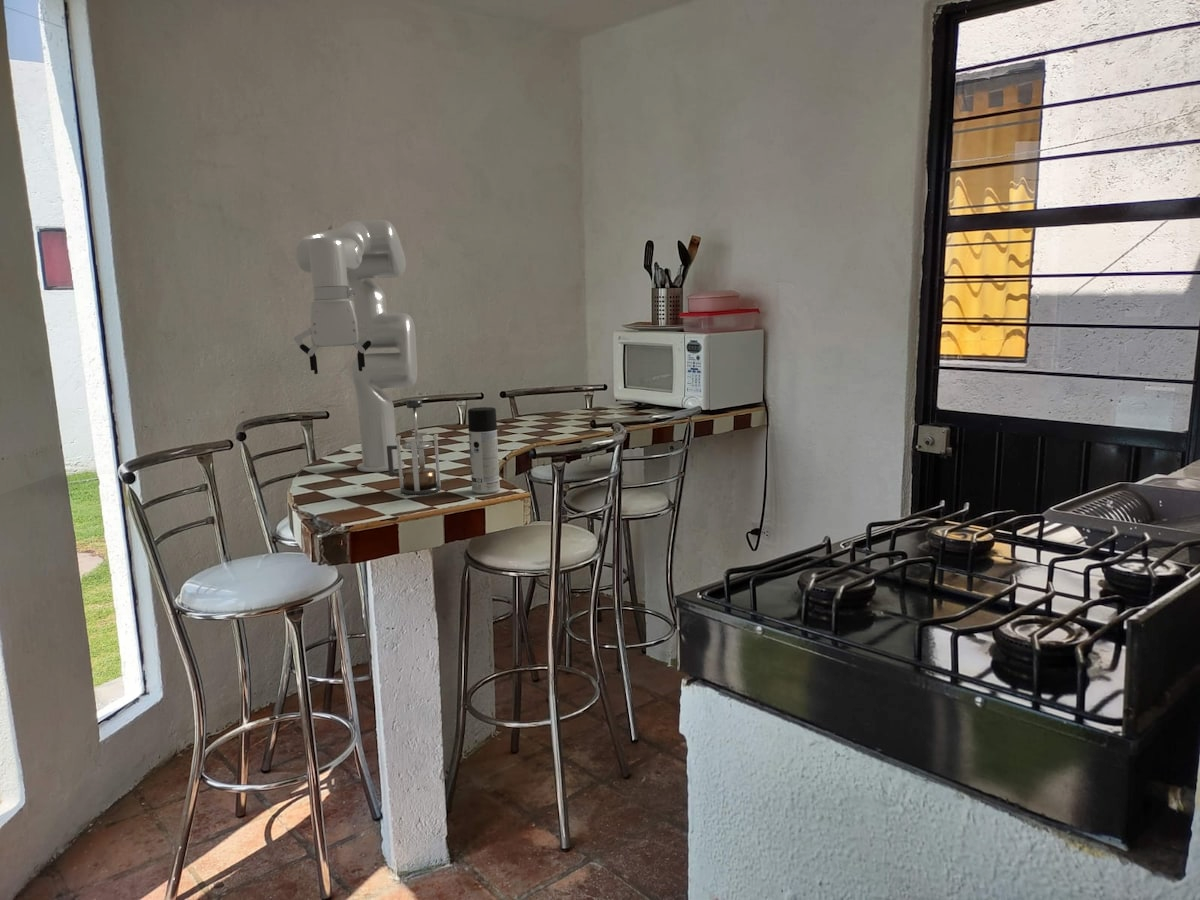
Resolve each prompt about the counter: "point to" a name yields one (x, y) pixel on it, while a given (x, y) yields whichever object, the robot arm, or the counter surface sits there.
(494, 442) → the spray can
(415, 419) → the coffee press plunger
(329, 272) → the robot arm
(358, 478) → the counter surface
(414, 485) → the cafetera
